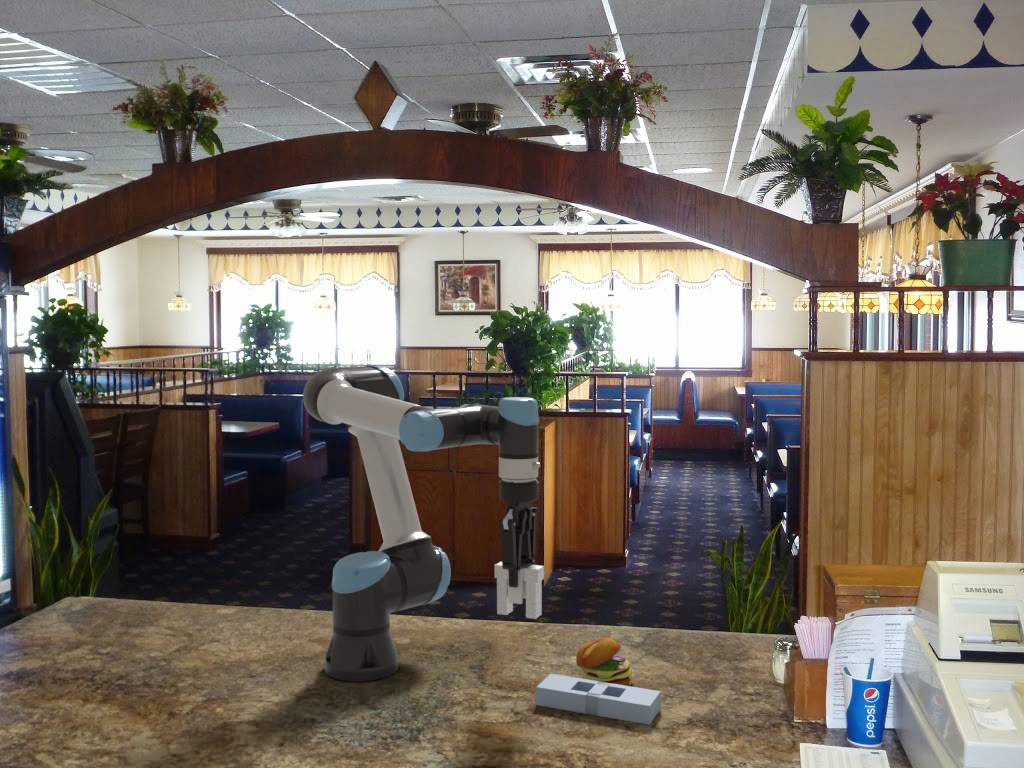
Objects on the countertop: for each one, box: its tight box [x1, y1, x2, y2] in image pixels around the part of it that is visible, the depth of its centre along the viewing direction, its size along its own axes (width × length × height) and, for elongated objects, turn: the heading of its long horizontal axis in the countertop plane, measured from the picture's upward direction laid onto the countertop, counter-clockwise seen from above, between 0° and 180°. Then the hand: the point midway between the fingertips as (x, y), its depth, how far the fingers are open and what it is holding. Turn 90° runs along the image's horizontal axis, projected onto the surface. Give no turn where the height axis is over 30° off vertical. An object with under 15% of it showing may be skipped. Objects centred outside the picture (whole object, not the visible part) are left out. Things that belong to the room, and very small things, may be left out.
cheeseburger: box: [575, 637, 635, 686], centre depth 202 cm, size 10×11×10 cm
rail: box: [535, 673, 662, 726], centre depth 190 cm, size 22×8×4 cm, turn 67°
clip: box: [494, 560, 545, 620], centre depth 193 cm, size 9×3×10 cm, turn 66°
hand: (519, 600), depth 193 cm, fingers closed on clip, 3 cm apart
